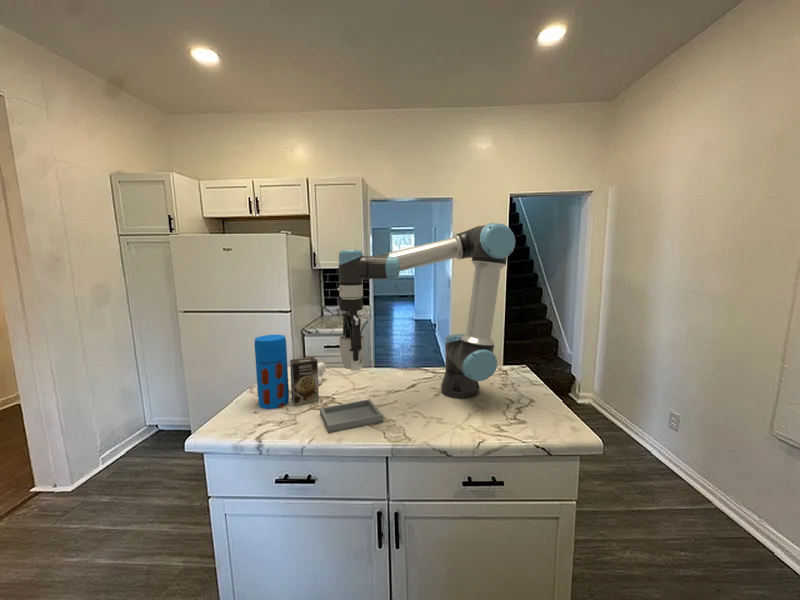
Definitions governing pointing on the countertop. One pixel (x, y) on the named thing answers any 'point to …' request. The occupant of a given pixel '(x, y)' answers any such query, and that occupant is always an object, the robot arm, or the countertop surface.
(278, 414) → the countertop surface
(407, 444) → the countertop surface
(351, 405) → the tray
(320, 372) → the white decorative knot
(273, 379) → the thermos
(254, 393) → the countertop surface
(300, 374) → the coffee box
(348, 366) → the cup
